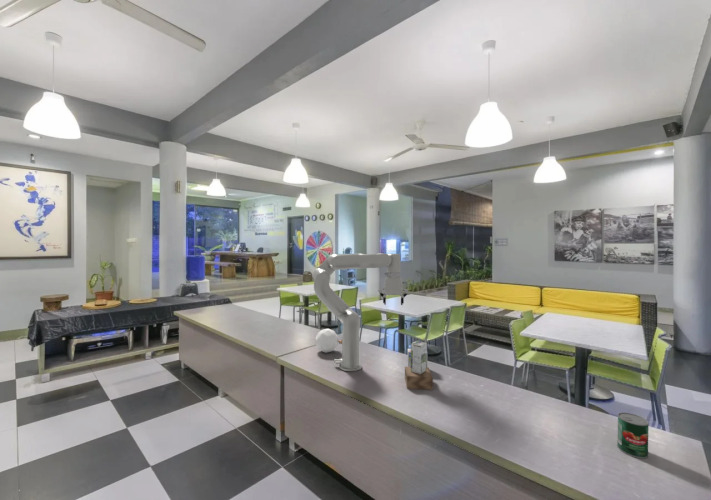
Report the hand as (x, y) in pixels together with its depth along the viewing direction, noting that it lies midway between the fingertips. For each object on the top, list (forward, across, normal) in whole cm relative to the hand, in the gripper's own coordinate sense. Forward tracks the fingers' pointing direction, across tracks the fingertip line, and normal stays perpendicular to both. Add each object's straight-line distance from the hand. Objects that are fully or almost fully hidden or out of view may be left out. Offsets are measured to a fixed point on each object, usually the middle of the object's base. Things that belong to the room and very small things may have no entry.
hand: (393, 304), depth 186 cm
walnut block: (+34, +11, -26) cm, 45 cm away
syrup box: (+28, +11, -26) cm, 40 cm away
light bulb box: (+35, +13, -8) cm, 38 cm away
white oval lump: (+34, -39, +17) cm, 55 cm away
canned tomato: (+34, +76, -74) cm, 112 cm away
